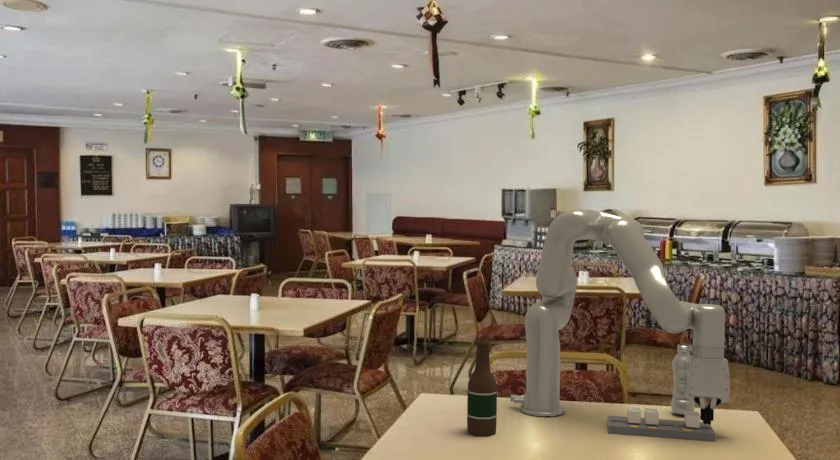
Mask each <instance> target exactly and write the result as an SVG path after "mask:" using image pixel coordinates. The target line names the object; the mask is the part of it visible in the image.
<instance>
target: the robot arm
mask: <svg viewBox="0 0 840 460" xmlns="http://www.w3.org/2000/svg"><path fill="white" fill-rule="evenodd" d="M583 240H584V241H585V240H586V241H587V240H590V241H591V240H593V241H596V242H600V243H604V244H608V245H610V246H611V248H612V249H613V251H614V252H615V254H616V255H617V256H618V258H619V260H620V262H622V264H623V266H624V268H625V269H626V270H627V272H628V273H629V274H630V276H631V277H632V279H633V281H634V284H635V286H636V288H637V290H638V292H639V294H640V296H641V298H642V300H643V302H644V303H645V305H646V307H647V308H648V310H649V312H650V313H651V314H652V316H653V317H654V319H655V321H656V322H657V324H658V325H659V326H660V327H661V328H662V329H663V330H664V331H666V332H668V333H671V334H680V333H682V332H684V331H685V330H689V329H692V330H693V331H692V333H693V334H692V344H691V347H687V352H690V354H692V355H691V356H690V359H689V364H688V371H687V382H686V388H687V391H686V395H685V397H686V399H688V400H692V401H694V403H696V404H697V405H698V406H699V407H700V413H699V415H700V421H702V422H703V423H704V424H707V423H708V424H709V425H711V426H712V422H713V421H714V419H715V418H714V411H715V409H716V408H717V406H719V405H720V404H722V403H728V402H730V401H731V399H730V393H731V387H730V382H731V381H730V368H729V361H728V359H727V358H725V322H726V320H725V319H726V318H725V317H726V316H725V315H726V311H725V308H724V307H723V306H722V305H720V304H719V305H718V304H711V303H700V304H699V303H692V302H688V301H683V300H678V298H677V297H676V296H675V294H674V292H673V291H672V289H671V287H670V285H669V284H668V282H667V279H666V277H665V271H664V266H663V263H662V262H661V260H660V258H659V257H658V255H657V254H656V252H655V251H654V250H653V248H652V247H651V245H650V244H649V242H648V241H647V240H646V238H645V230H644V227H643V225H642V223H640V222H639V221H638V220H636V219H633V218H629V217H624V216H620V215H614V214H610V213H607V212H602V211H598V210H594V209H593V210H592V209H582V208H581V209H573V210H568V211H565V212H562V213H561V214H559V215H557V216H556V217H555V218H554V219H553V220H552V221H551V222H550V224H549V226H548V228H547V230H546V235H545V237H544V243H543V248H542V253H541V257H540V262H539V264H538V265H539V266H538V270H537V274H536V280H535V286H536V289H537V292H539V293H538V294H540V295H541V296H542V297H541V301H537V302H535V303H533V304H532V305H531V306H530V307H529V308H528V309H527V311H526V313H525V315H524V316H525V317H524V328H525V339H526V371H525V372H526V374H525V375H526V376H525V377H526V378H525V379H526V380H525V383H526V384H525V393H524V394H523V393H522V394H521V395H518V394H511V395H510V402H513V403H514V404H520V412H522V413H524V414H526V415H529V414H530V415H531V416H536V417H545V416H546V417H547V416H550V417H558V416H557V415H559V416H561V414H562V415H564V414H565V413H564V412H566V408H565V407H564V406H563V405H561V404H560V401H561V399H560V394H561V392H560V390H561V387H560V386H561V342H560V341H561V340H560V335H559V331H561V330H562V329H563V328H564V327H566V326H567V324H568V323H569V321H570V318H571V314H572V311H573V306H574V302H575V295H576V291H577V288H578V287H577V285H578V277H577V273H576V271H575V270H574V268H573V267H572V266H571V264H572V259H573V256H574V255H573V254H574V246H575V243H576V241H583ZM705 398H706V399H709V400H708V401H709V402H708V404H707V405H706V401H705ZM563 413H564V414H563Z"/></svg>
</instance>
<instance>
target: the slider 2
mask: <svg viewBox="0 0 840 460" xmlns="http://www.w3.org/2000/svg"><path fill="white" fill-rule="evenodd" d="M659 415H660V414H659V411H658V408H649V407H645V408H644V415H643V416H644V417H643V418H644V420H645V423H646V424H654V425H658V424H659V417H660V416H659Z"/></svg>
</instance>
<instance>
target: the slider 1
mask: <svg viewBox="0 0 840 460" xmlns="http://www.w3.org/2000/svg"><path fill="white" fill-rule="evenodd" d="M626 410H627V411H626V417H627V420H628V423H640V424H641V418H642V417H641V415H642V411H641V408H640V407H634V406H632V407H631V406H627V408H626Z"/></svg>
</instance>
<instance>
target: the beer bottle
mask: <svg viewBox="0 0 840 460" xmlns="http://www.w3.org/2000/svg"><path fill="white" fill-rule="evenodd" d="M475 345H476V351H475V365H474V370H473V372H472V373H471V374H470V377H469V379H468V382H467V399H466V400H467V402H466V403H467V408H466V409H467V411H466V412H467V413H466V426H467V427H466V428H467V431H468V433H469V435H472V436H474V437H491V436H494V435H496V433H497V421H498V420H497V417H498V416H497V415H498V414H497V410H498V409H497V408H498V390H497V389H498V388H497V381H496V379H495V377H494V375H493V373H492V370H491V366H490V365H491V364H490V345H491V343H490V340H488V339H484V338H481V339H477V340H476V341H475Z"/></svg>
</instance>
